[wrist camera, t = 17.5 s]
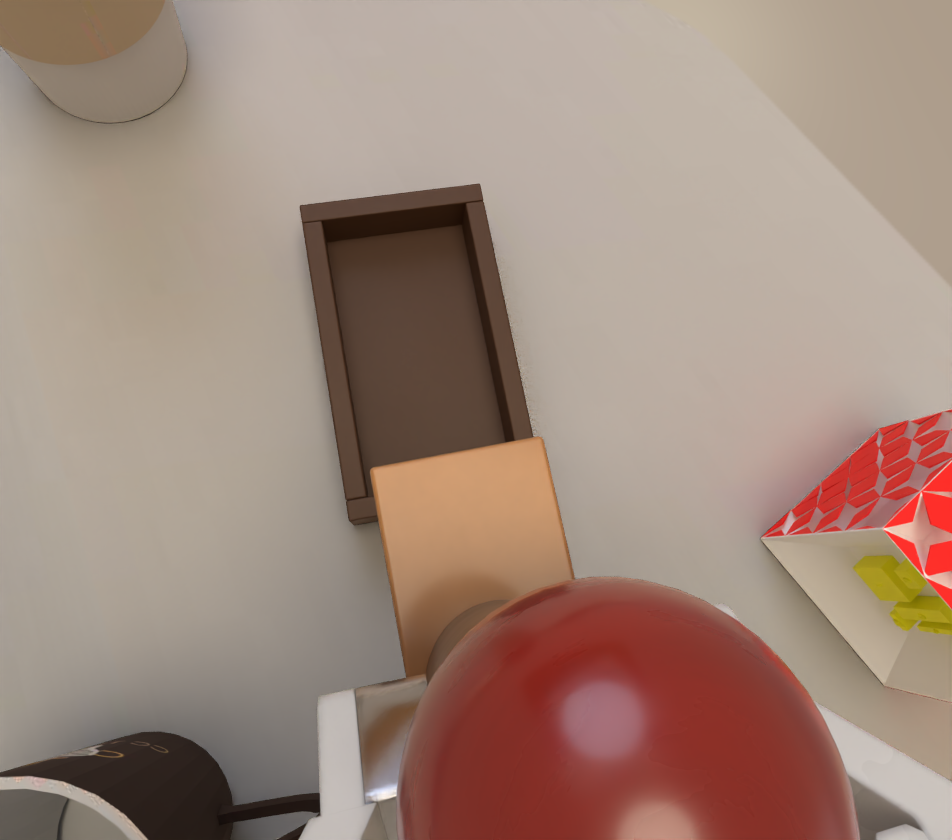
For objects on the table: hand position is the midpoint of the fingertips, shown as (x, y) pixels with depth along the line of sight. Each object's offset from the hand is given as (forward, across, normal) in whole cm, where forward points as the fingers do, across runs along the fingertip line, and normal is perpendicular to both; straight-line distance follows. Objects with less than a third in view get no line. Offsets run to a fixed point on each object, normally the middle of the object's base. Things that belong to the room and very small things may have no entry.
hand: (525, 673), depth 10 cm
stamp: (+4, 0, +4) cm, 6 cm away
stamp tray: (+20, -1, +6) cm, 21 cm away
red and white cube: (+12, -19, +14) cm, 27 cm away
